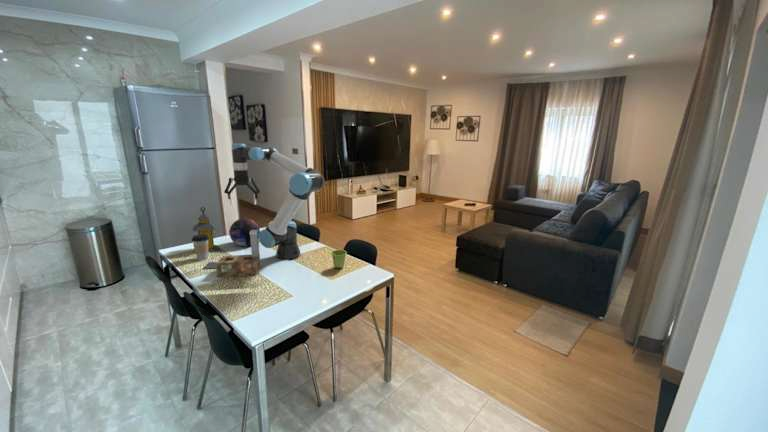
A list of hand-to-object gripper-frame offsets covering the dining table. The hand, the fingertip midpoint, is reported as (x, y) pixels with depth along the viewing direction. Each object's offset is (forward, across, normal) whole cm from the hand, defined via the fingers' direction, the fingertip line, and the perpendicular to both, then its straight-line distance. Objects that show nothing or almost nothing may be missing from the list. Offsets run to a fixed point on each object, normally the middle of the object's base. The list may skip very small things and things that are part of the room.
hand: (243, 204), depth 188 cm
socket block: (+35, -1, +24) cm, 42 cm away
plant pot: (+35, -57, +23) cm, 71 cm away
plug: (+27, -10, +24) cm, 37 cm away
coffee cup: (+35, +27, -1) cm, 44 cm away
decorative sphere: (+35, +7, -25) cm, 43 cm away
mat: (+35, +16, +12) cm, 40 cm away
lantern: (+35, +30, -18) cm, 49 cm away
